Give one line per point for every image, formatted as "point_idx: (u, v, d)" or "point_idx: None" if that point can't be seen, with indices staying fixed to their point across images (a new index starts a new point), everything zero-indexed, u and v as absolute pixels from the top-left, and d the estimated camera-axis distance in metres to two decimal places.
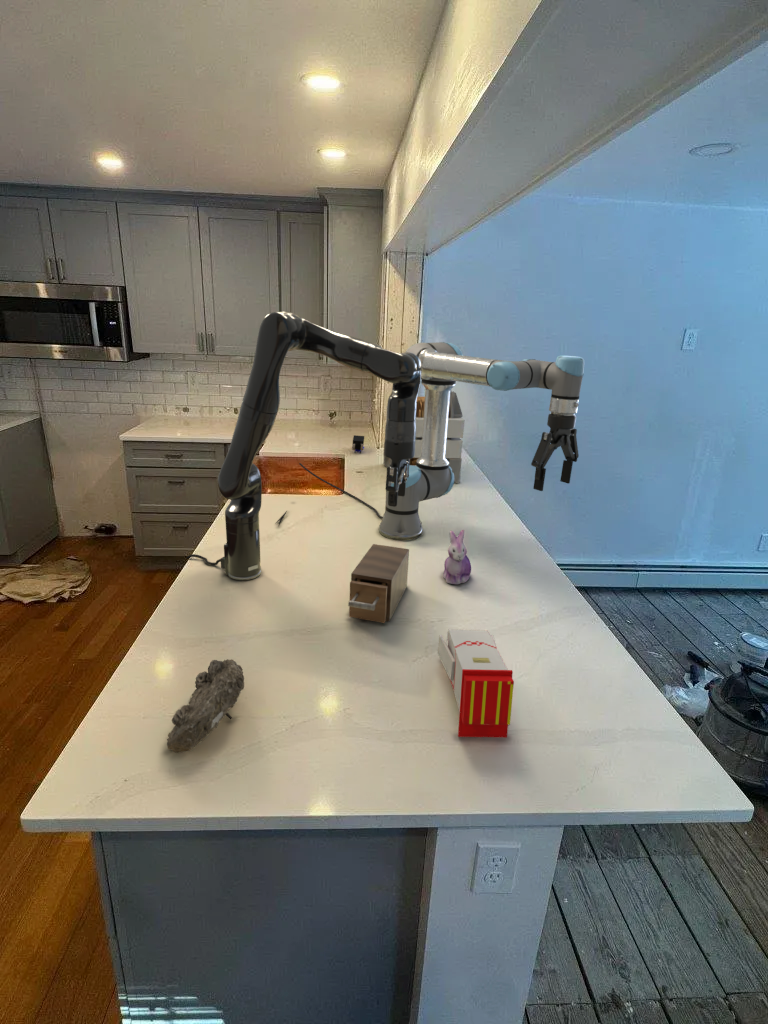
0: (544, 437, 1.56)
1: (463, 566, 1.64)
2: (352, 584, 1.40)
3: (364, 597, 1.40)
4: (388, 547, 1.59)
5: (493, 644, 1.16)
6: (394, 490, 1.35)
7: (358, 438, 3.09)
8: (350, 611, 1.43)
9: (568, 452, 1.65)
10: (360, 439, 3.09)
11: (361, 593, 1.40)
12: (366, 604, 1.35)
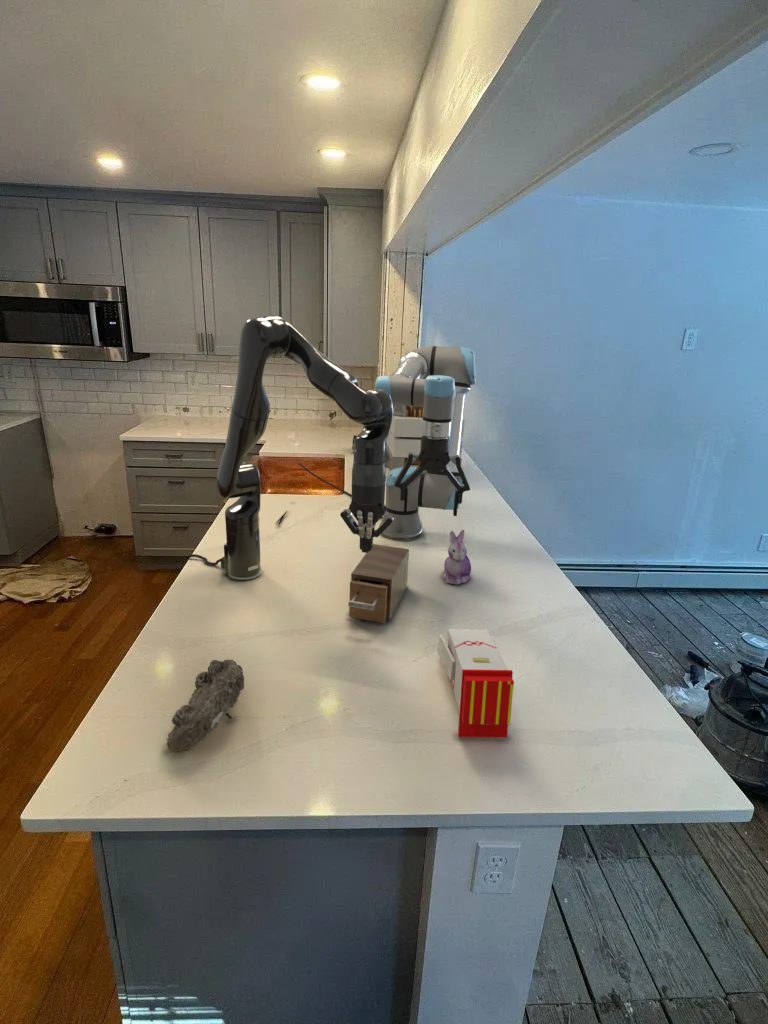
0: None
1: (463, 566, 1.64)
2: (352, 584, 1.40)
3: (364, 597, 1.40)
4: (388, 547, 1.59)
5: (493, 644, 1.16)
6: None
7: None
8: (350, 611, 1.43)
9: (451, 481, 1.51)
10: None
11: (361, 593, 1.40)
12: (366, 604, 1.35)
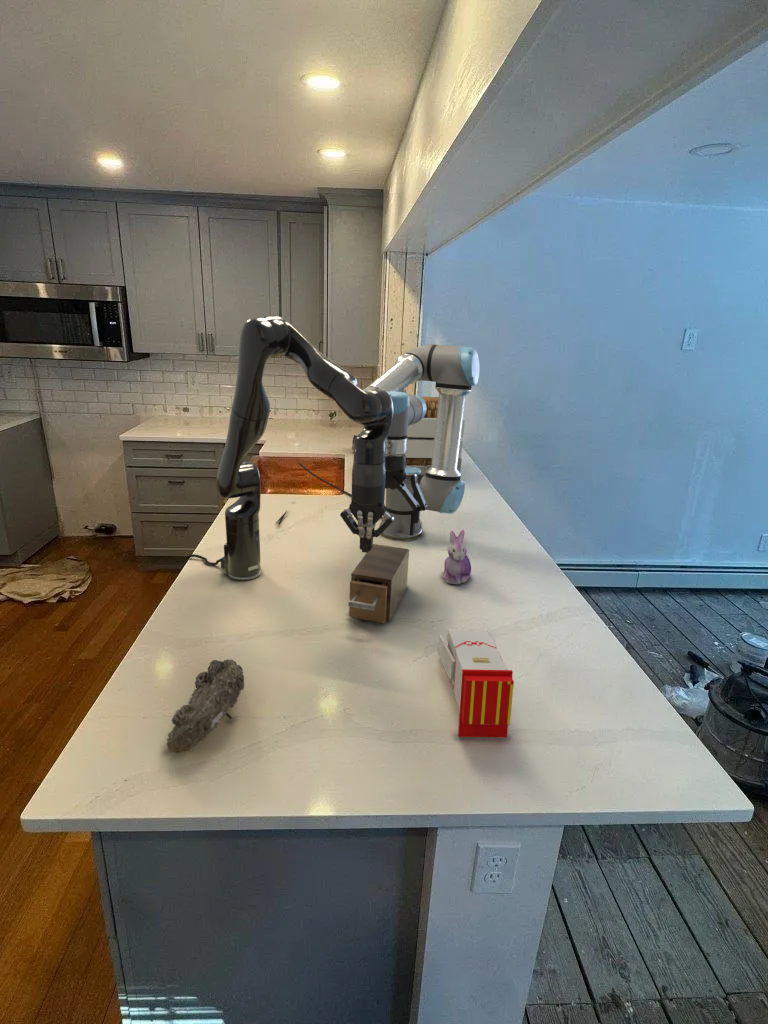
0: None
1: (463, 566, 1.64)
2: (352, 584, 1.40)
3: (364, 597, 1.40)
4: (388, 547, 1.59)
5: (493, 644, 1.16)
6: None
7: None
8: (350, 611, 1.43)
9: None
10: None
11: (361, 593, 1.40)
12: (366, 604, 1.35)
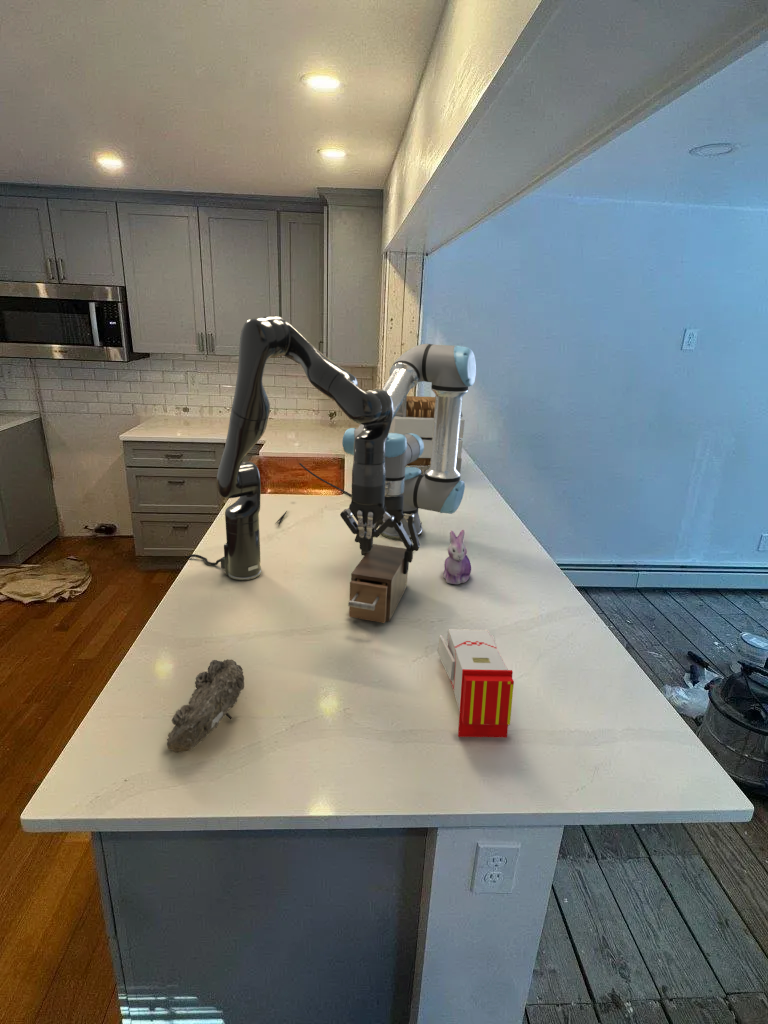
0: None
1: (463, 566, 1.64)
2: (352, 584, 1.40)
3: (364, 597, 1.40)
4: (388, 547, 1.59)
5: (493, 644, 1.16)
6: None
7: None
8: (350, 611, 1.43)
9: None
10: None
11: (361, 593, 1.40)
12: (366, 604, 1.35)
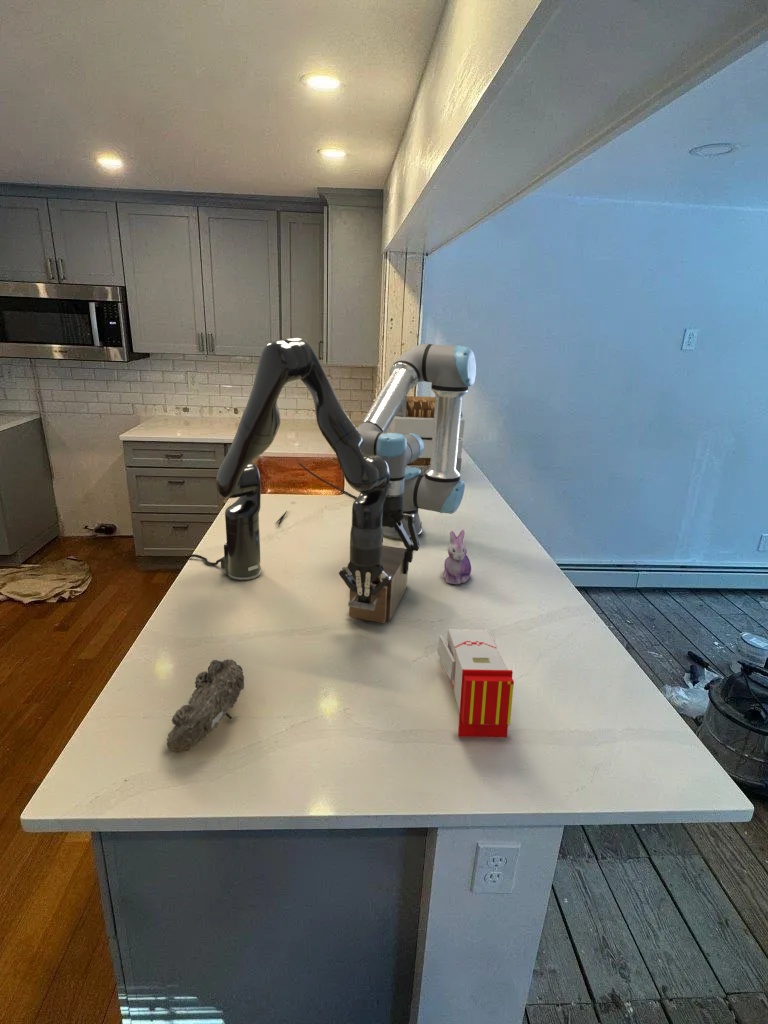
0: None
1: (463, 566, 1.64)
2: None
3: None
4: (388, 547, 1.59)
5: (493, 644, 1.16)
6: None
7: None
8: (350, 611, 1.42)
9: None
10: None
11: None
12: (366, 604, 1.35)
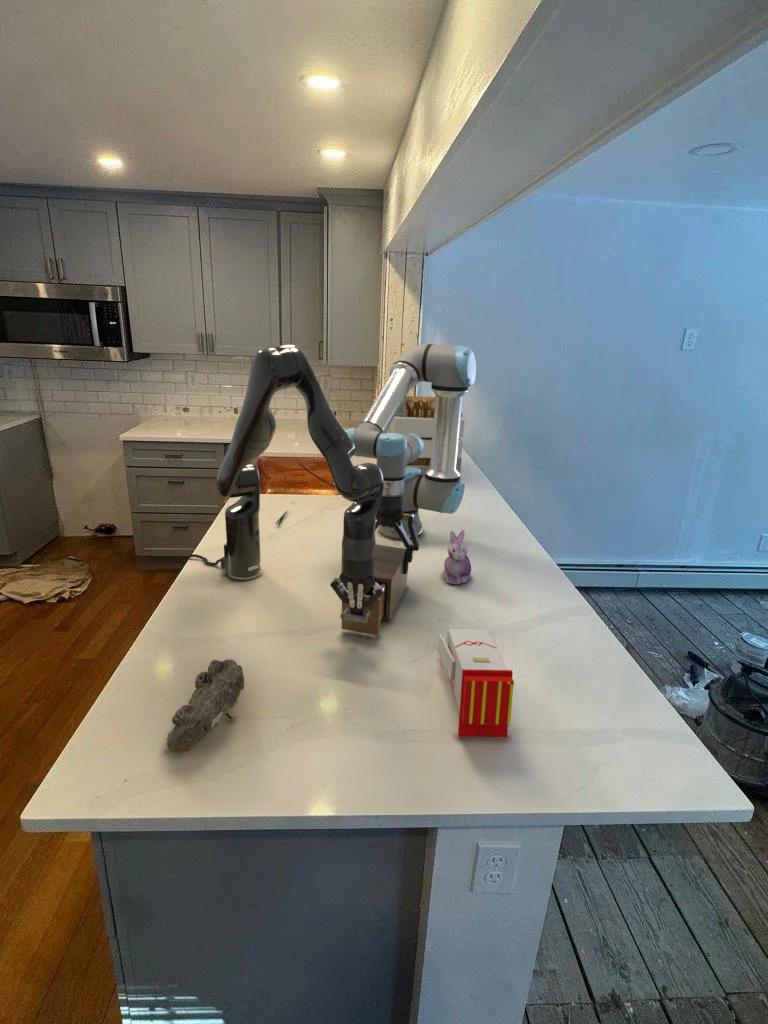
0: None
1: (463, 566, 1.64)
2: None
3: None
4: (388, 547, 1.58)
5: (493, 644, 1.16)
6: None
7: None
8: (342, 623, 1.37)
9: None
10: None
11: None
12: (359, 616, 1.29)
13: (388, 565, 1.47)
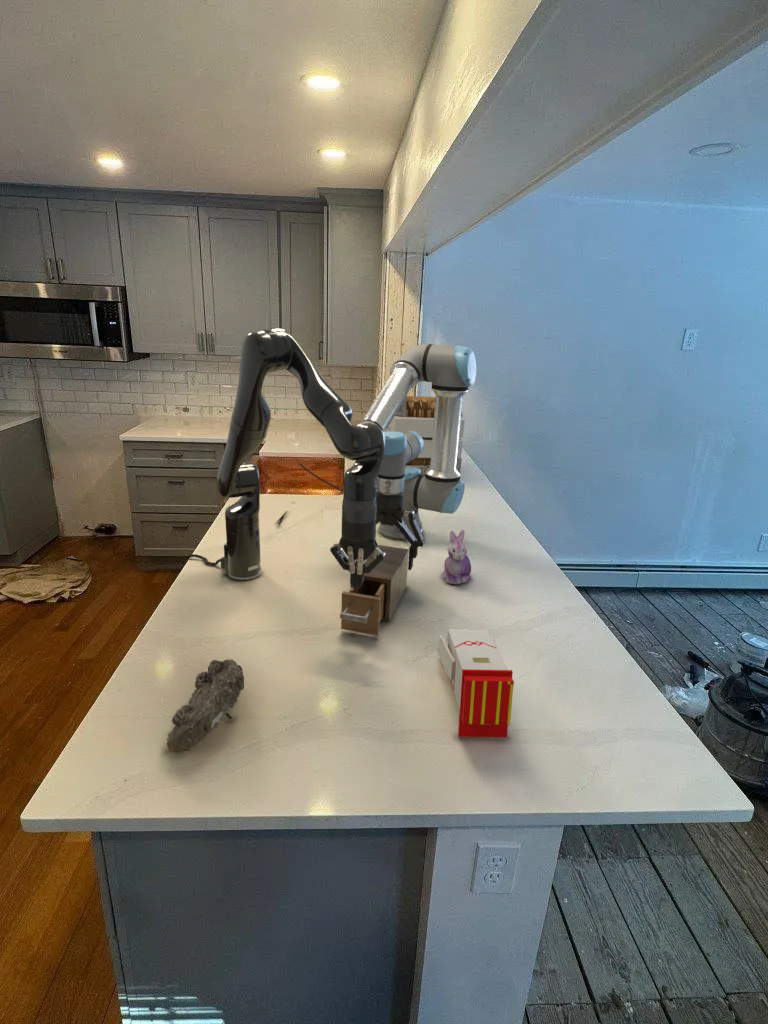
0: None
1: (463, 566, 1.64)
2: (344, 595, 1.34)
3: (356, 609, 1.35)
4: (388, 547, 1.58)
5: (493, 644, 1.16)
6: None
7: None
8: (342, 623, 1.37)
9: None
10: None
11: (353, 604, 1.34)
12: (358, 616, 1.29)
13: (388, 565, 1.47)
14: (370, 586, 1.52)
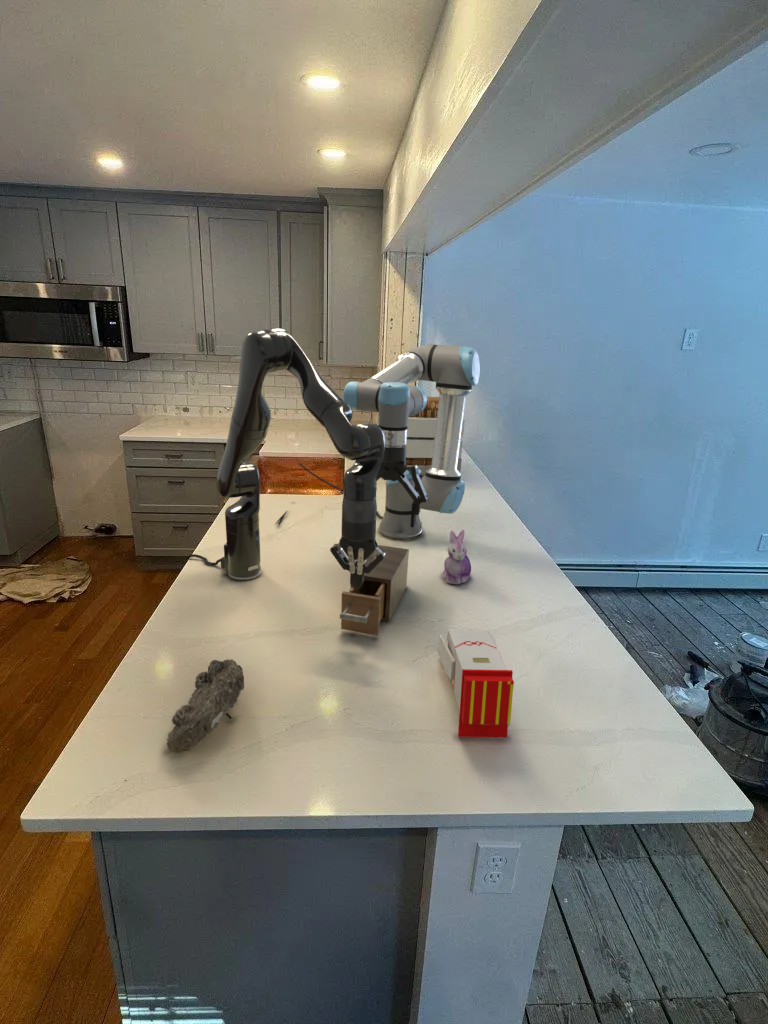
0: None
1: (463, 566, 1.64)
2: (344, 595, 1.34)
3: (356, 609, 1.35)
4: (388, 547, 1.58)
5: (493, 644, 1.16)
6: None
7: None
8: (342, 623, 1.37)
9: None
10: None
11: (353, 604, 1.34)
12: (358, 616, 1.29)
13: (388, 565, 1.47)
14: (370, 586, 1.52)
